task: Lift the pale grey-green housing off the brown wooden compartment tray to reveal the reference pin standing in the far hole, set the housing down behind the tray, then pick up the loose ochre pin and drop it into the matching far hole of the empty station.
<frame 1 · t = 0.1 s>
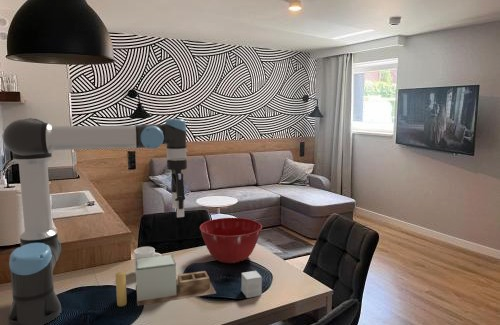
hand: (178, 212, 147), 28 cm above the table, fingers open, 13 cm apart
housing: (156, 291, 138), point 1 cm above the table, touching brown wooden compartment tray
pin: (122, 306, 129), on the table
mixing bowl: (230, 257, 173), on the table
skincare box: (251, 293, 139), on the table
mug: (149, 274, 155), on the table
brown wooden compartment tray: (175, 291, 140), on the table
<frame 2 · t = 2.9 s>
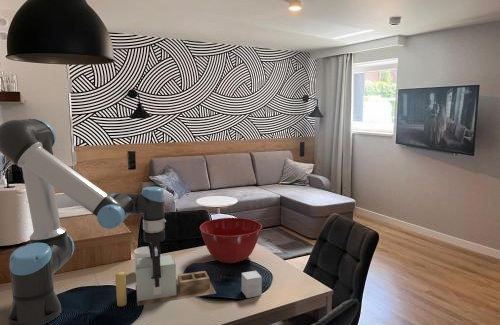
hand: (155, 287, 137), 3 cm above the table, fingers closed on housing, 10 cm apart
housing: (156, 291, 138), point 1 cm above the table, touching gripper, brown wooden compartment tray
everything else where it was.
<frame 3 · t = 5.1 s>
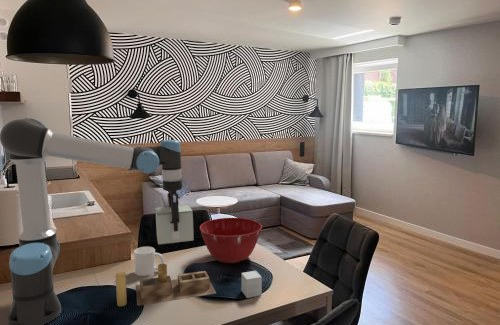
hand: (174, 234, 149), 19 cm above the table, fingers closed on housing, 10 cm apart
housing: (174, 238, 149), point 17 cm above the table, touching gripper
everything else where it was.
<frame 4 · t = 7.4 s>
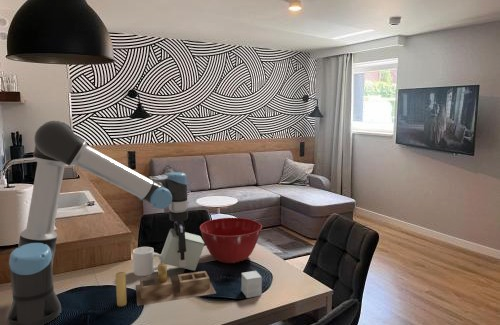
hand: (180, 261, 156), 5 cm above the table, fingers closed on housing, 10 cm apart
housing: (177, 262, 155), point 5 cm above the table, tilted 21°, touching gripper, mug
mug: (148, 274, 155), on the table, touching housing
everything else where it was.
when the fingers open (3 cm above the table, at t = 8.2 s): housing stays where it is, point 3 cm above the table.
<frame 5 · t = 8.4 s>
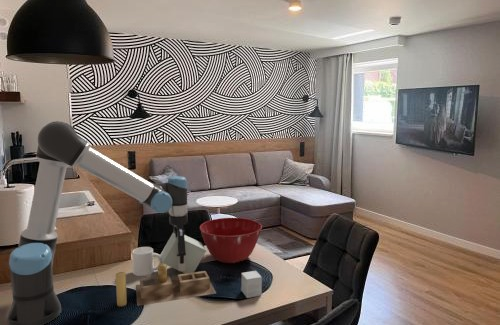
hand: (179, 264, 156), 4 cm above the table, fingers open, 11 cm apart
housing: (175, 265, 155), point 3 cm above the table, tilted 31°
mug: (148, 274, 155), on the table
everything else where it was.
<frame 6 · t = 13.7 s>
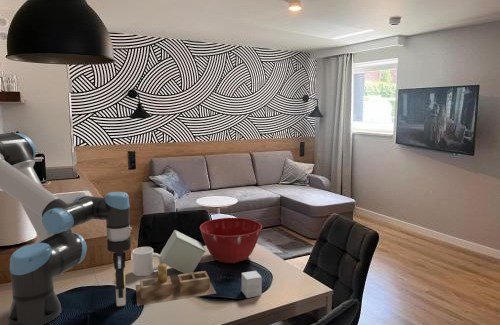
hand: (121, 302, 129), 2 cm above the table, fingers closed on pin, 3 cm apart
pin: (121, 305, 129), on the table, touching gripper
everything else where it was.
when the fingers open (6 cm above the table, at t = 18.6 s): pin drops 2 cm, resting on brown wooden compartment tray.
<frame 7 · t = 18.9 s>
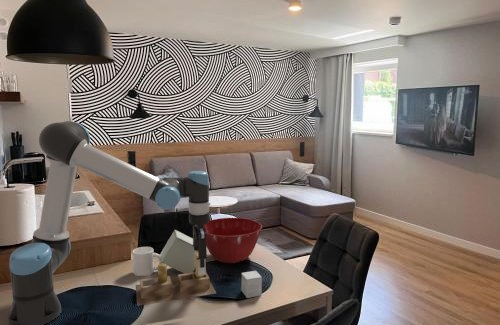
hand: (199, 270, 142), 7 cm above the table, fingers open, 7 cm apart
housing: (175, 264, 155), point 4 cm above the table, tilted 32°, touching mug
pin: (200, 285, 143), point 1 cm above the table, touching brown wooden compartment tray
mug: (148, 274, 155), on the table, touching housing
everything else where it was.
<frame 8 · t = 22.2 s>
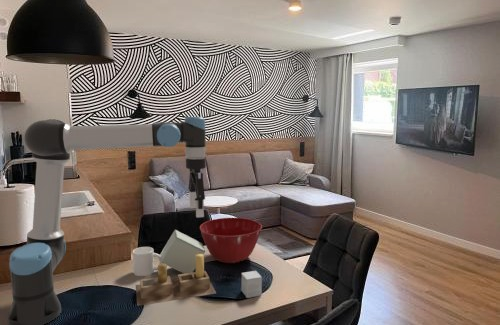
hand: (196, 212, 144), 29 cm above the table, fingers open, 13 cm apart
housing: (175, 264, 156), point 4 cm above the table, tilted 32°
mug: (148, 274, 155), on the table
everything else where it was.
at the end: pin 0.1 cm from the target spot on the brown wooden compartment tray, point 1.0 cm above the brown wooden compartment tray's base; pin tilted 0°; housing moved 18.9 cm from its start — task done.
